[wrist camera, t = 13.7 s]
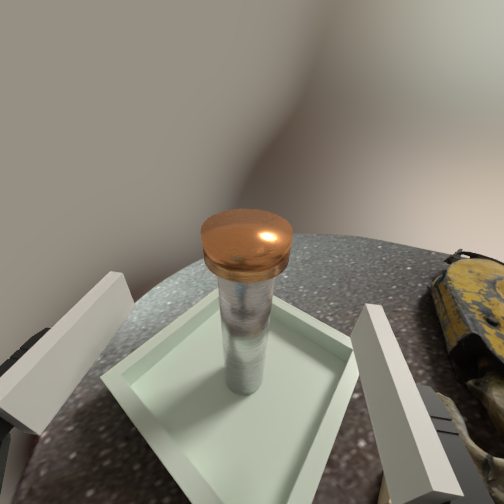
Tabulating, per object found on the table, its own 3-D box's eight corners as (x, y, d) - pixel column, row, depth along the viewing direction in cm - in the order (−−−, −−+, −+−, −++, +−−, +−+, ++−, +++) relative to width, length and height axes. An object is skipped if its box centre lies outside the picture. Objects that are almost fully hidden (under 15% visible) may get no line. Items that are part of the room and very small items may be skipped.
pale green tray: (357, 366, 21) (368, 348, 19) (266, 606, 11) (271, 611, 9) (235, 292, 28) (235, 274, 26) (113, 395, 18) (100, 377, 16)
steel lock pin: (280, 370, 19) (308, 225, 11) (248, 418, 16) (256, 267, 8) (240, 341, 21) (241, 202, 13) (206, 379, 19) (181, 229, 11)
